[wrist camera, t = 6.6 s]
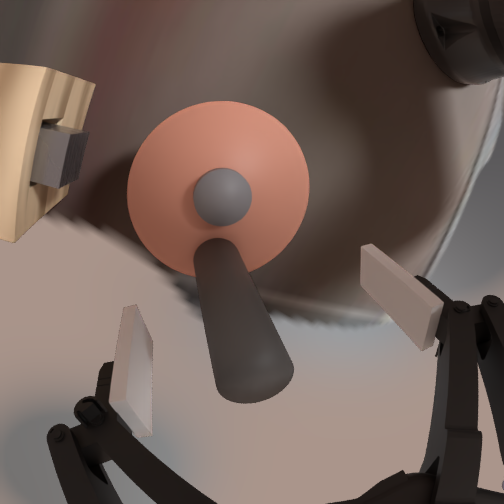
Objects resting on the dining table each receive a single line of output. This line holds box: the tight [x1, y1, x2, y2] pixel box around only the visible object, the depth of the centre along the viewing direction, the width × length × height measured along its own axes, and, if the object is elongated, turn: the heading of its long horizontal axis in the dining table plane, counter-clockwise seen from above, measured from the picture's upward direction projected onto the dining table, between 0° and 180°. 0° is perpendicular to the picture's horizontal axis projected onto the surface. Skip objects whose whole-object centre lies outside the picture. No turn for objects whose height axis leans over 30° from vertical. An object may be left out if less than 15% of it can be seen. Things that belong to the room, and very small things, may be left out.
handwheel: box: [127, 101, 309, 403], centre depth 15 cm, size 12×12×12 cm
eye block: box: [0, 63, 96, 243], centre depth 17 cm, size 6×10×11 cm, turn 160°
